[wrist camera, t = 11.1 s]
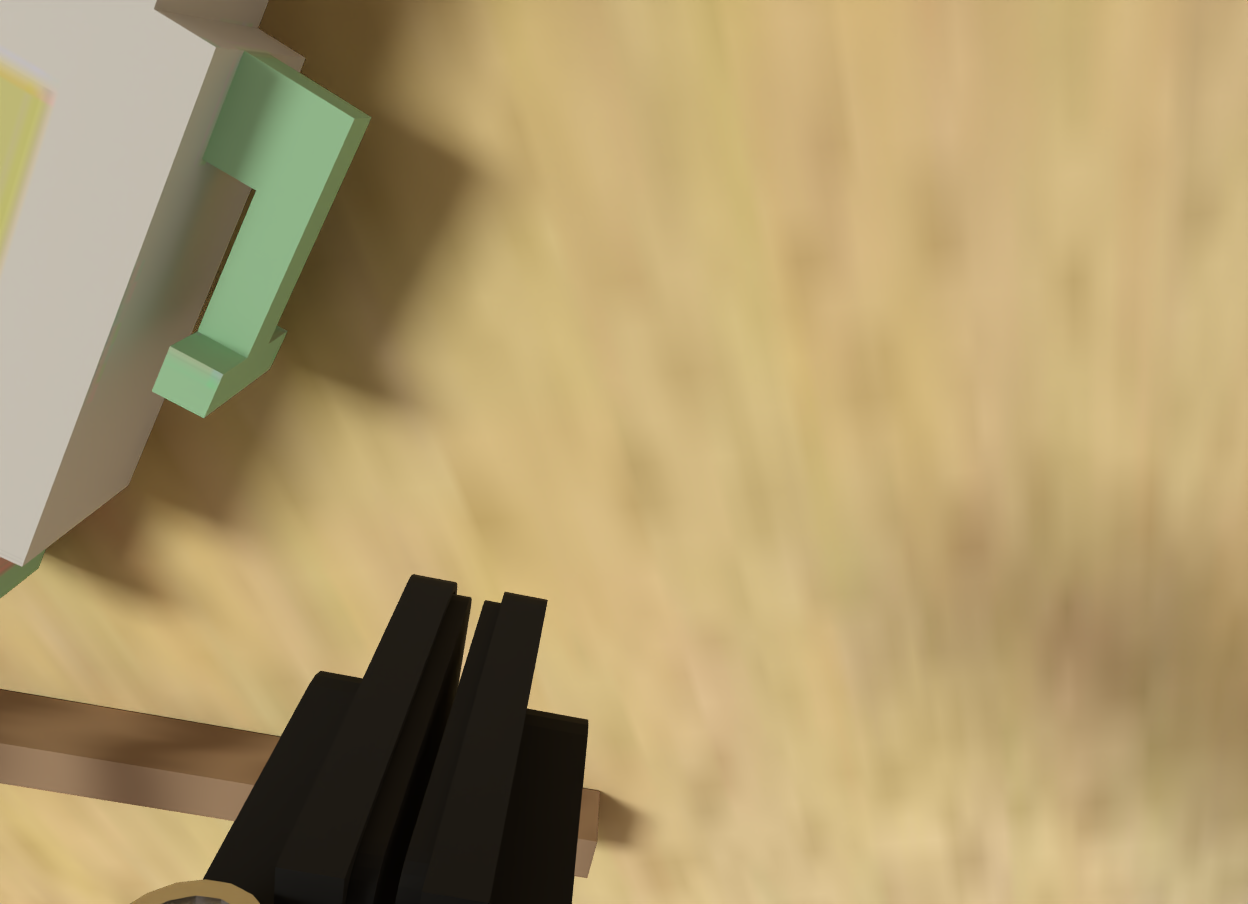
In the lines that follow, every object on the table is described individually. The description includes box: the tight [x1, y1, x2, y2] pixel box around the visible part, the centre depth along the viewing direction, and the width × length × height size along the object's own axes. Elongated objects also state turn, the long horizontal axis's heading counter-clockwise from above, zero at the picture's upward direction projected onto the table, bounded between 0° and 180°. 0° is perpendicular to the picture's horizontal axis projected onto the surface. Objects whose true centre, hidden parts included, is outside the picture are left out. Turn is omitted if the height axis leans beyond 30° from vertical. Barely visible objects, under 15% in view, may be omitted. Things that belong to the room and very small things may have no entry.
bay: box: [0, 690, 600, 878], centre depth 23 cm, size 38×46×8 cm
